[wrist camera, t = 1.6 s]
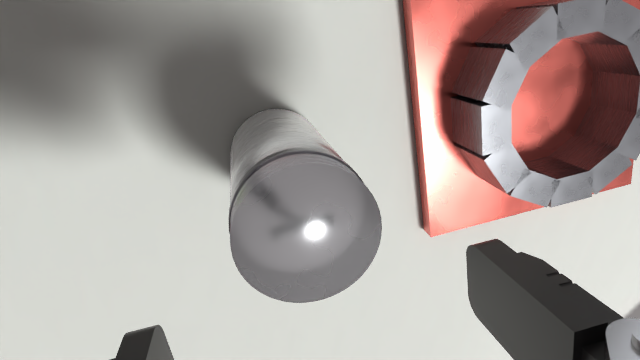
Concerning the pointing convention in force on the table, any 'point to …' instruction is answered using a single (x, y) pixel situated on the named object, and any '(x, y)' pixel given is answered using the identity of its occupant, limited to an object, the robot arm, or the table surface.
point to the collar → (521, 104)
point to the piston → (297, 211)
